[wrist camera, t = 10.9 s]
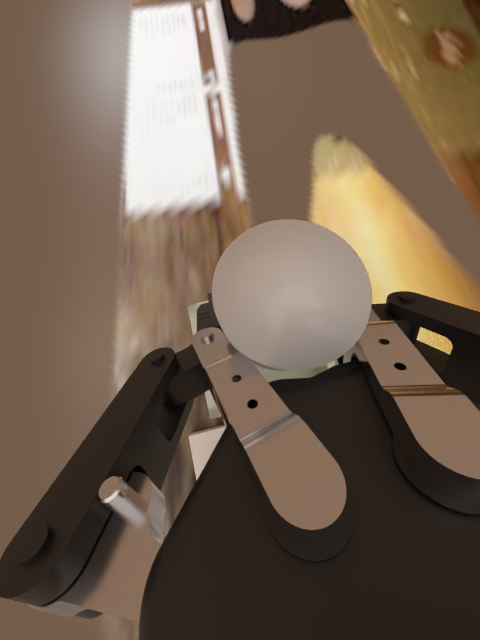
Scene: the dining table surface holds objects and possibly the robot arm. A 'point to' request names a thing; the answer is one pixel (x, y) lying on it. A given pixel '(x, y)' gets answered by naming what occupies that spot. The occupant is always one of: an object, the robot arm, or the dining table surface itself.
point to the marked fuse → (291, 295)
